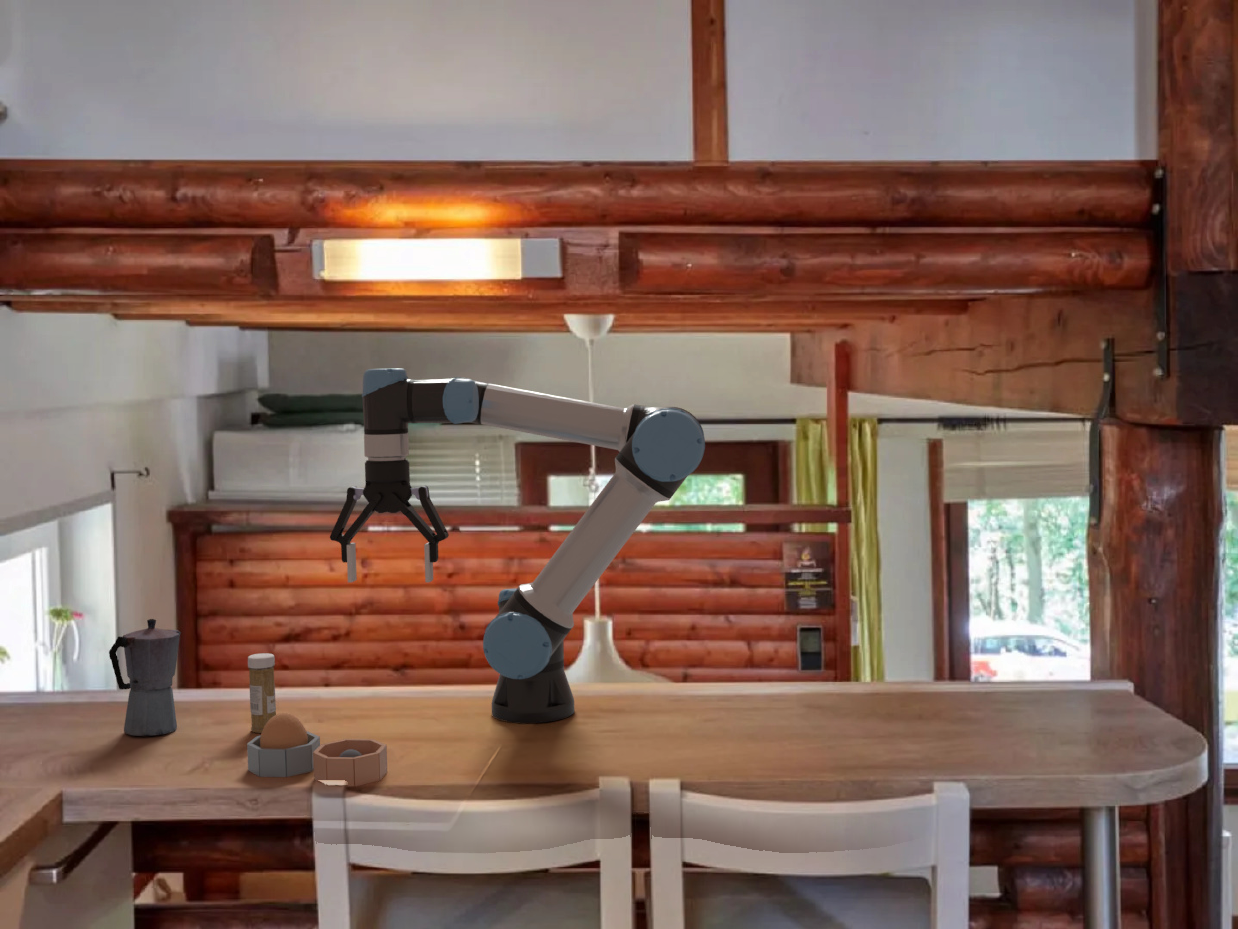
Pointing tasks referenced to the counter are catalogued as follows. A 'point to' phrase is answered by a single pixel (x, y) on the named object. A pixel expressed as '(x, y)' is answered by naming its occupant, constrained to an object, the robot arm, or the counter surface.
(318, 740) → the grey octagonal bowl
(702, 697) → the counter surface
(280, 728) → the egg
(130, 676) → the moka pot
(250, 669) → the sprinkles bottle
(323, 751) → the brown octagonal bowl
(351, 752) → the rubber ball
